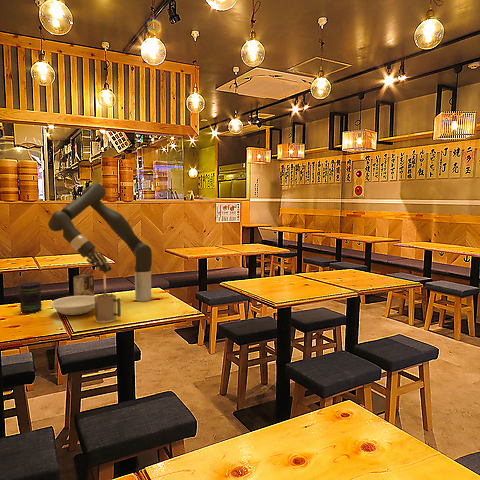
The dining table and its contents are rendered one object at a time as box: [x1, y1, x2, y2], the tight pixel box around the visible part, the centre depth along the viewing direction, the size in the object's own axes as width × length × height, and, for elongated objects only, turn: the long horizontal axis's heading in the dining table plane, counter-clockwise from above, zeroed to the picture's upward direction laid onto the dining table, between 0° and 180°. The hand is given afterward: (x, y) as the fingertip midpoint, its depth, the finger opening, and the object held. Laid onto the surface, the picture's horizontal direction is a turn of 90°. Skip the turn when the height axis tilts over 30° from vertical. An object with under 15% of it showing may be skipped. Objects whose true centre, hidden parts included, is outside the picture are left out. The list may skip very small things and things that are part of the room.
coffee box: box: [72, 273, 95, 296], centre depth 219 cm, size 9×6×16 cm
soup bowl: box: [49, 295, 97, 316], centre depth 201 cm, size 24×24×7 cm
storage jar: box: [19, 281, 42, 314], centre depth 203 cm, size 10×10×15 cm
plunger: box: [98, 261, 110, 298], centre depth 187 cm, size 6×6×18 cm
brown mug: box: [94, 293, 122, 324], centre depth 189 cm, size 10×12×12 cm
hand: (108, 270), depth 187 cm, fingers closed on plunger, 3 cm apart
